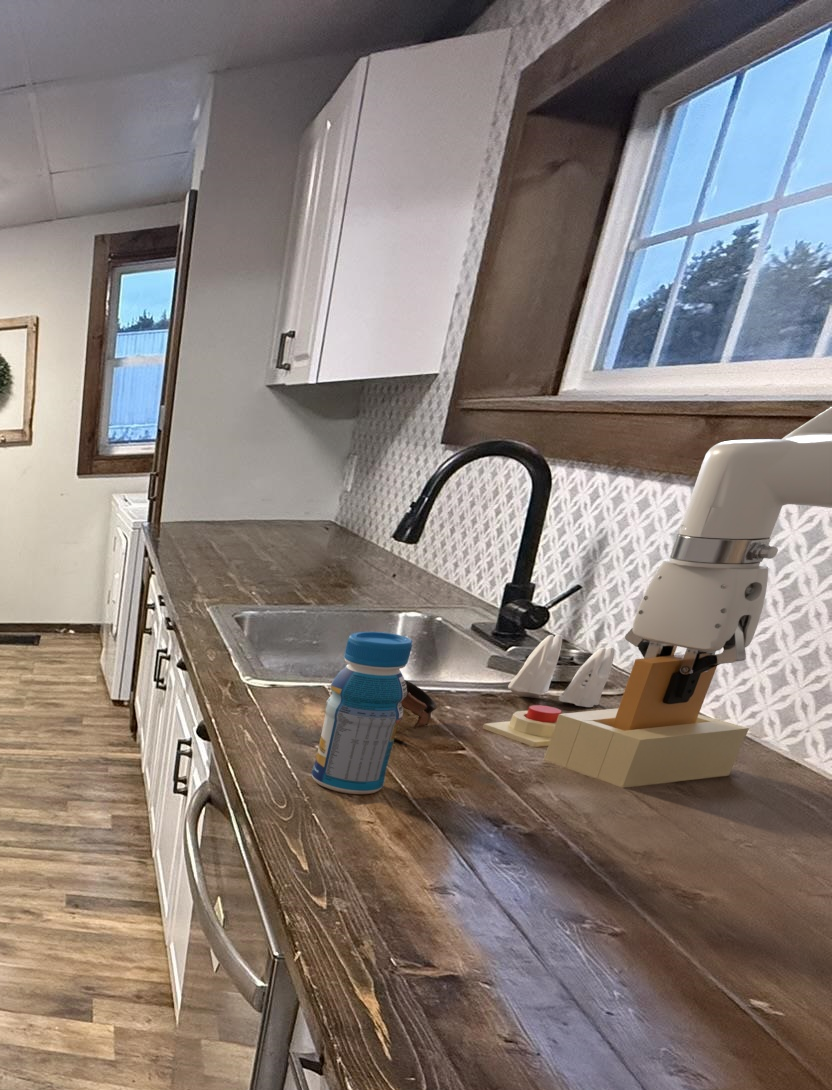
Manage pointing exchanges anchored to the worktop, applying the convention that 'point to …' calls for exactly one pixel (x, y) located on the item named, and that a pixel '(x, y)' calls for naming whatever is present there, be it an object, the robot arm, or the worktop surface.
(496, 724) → the button block
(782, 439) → the robot arm
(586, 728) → the toaster
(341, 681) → the beverage bottle
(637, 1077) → the worktop surface
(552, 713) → the pop button
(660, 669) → the toast
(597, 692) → the shaker set
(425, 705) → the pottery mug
